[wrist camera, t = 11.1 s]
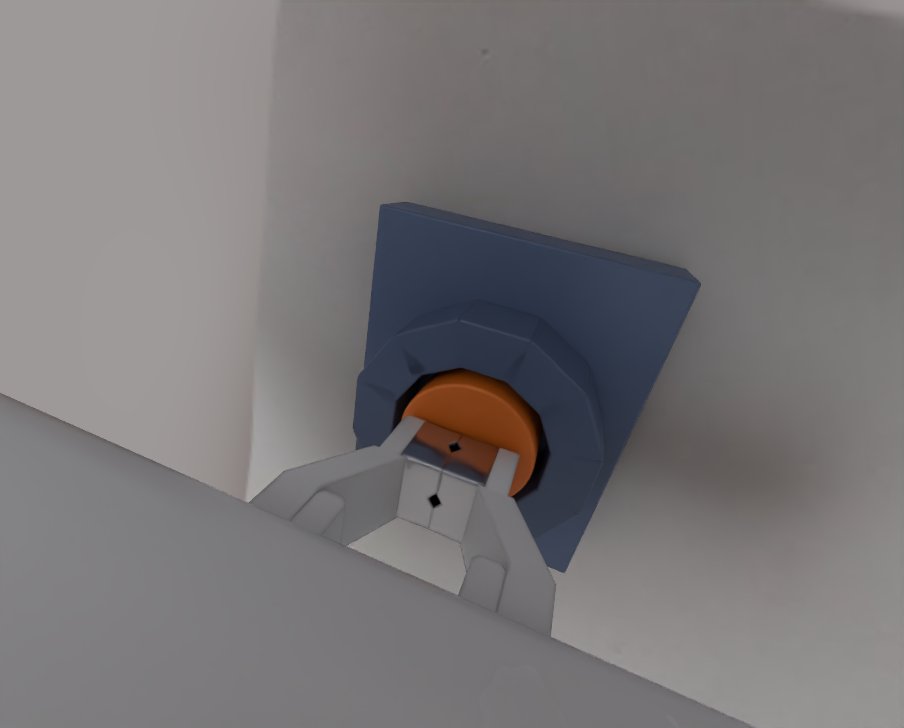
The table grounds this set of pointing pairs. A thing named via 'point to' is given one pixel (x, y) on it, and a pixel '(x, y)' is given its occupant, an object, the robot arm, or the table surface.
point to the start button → (482, 415)
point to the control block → (521, 345)
